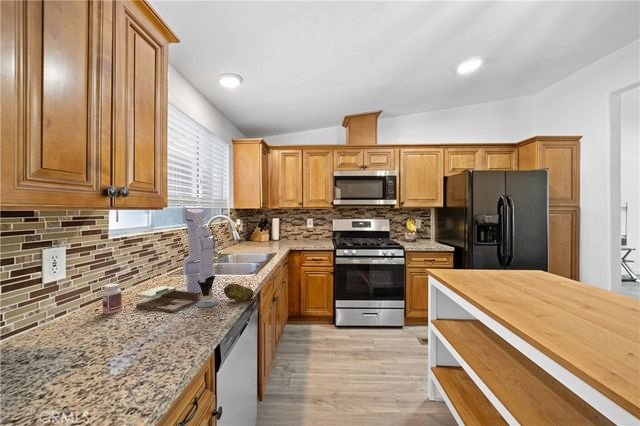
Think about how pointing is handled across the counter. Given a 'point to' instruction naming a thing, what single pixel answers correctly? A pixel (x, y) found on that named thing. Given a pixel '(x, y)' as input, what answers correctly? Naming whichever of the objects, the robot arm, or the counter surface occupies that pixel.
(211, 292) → the block
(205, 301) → the saucer
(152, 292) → the cover
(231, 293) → the potato
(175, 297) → the board
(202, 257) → the robot arm
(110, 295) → the pill bottle
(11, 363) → the counter surface
